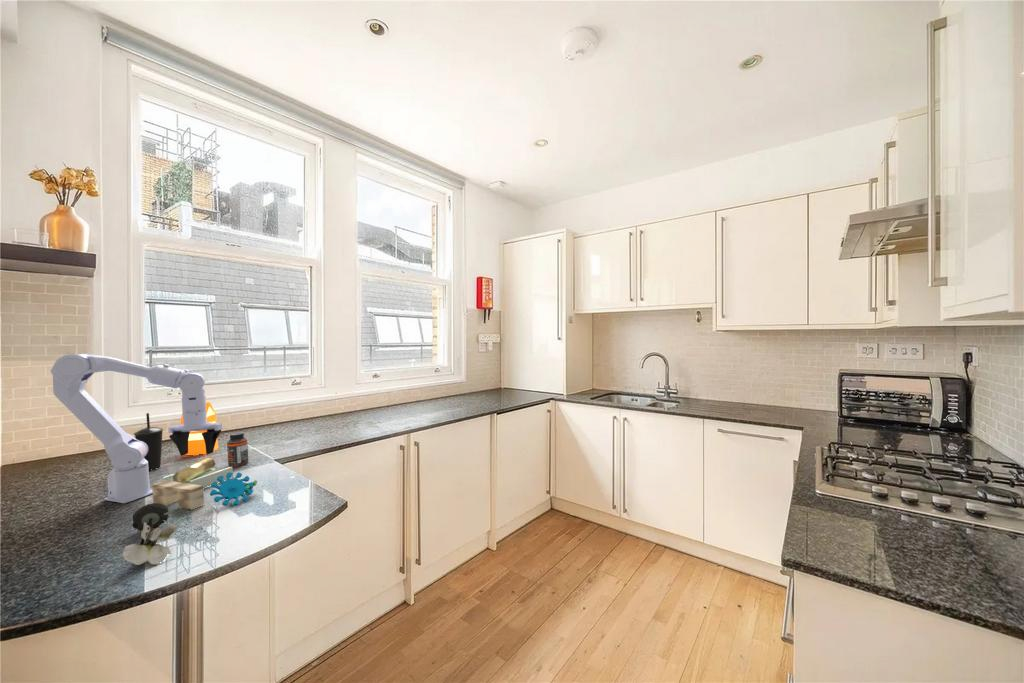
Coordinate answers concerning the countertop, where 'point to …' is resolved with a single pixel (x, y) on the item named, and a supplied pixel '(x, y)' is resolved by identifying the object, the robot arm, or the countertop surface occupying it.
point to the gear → (232, 489)
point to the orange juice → (200, 434)
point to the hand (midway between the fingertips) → (197, 453)
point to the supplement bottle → (237, 449)
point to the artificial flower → (150, 535)
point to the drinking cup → (151, 443)
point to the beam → (178, 494)
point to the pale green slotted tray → (206, 477)
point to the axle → (194, 470)
